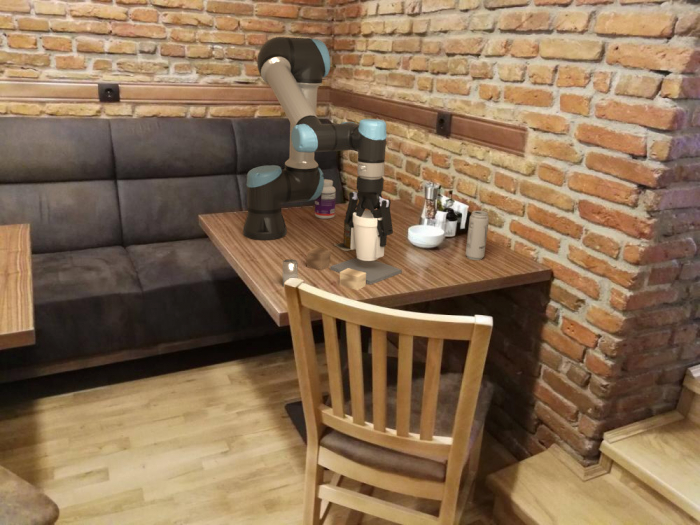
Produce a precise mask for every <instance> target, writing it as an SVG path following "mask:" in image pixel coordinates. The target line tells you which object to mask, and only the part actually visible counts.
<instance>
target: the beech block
mask: <svg viewBox="0 0 700 525" xmlns="http://www.w3.org/2000/svg"><path fill="white" fill-rule="evenodd" d="M366 284H367V283H366V273H364V272H361V271H357V270H354V269H350V268H347V269H345V270H343V271H341V272H340V273H339V285H340V286H342V287H344V288H349V289H352V290H356V291H359V290H360V289H362V288H365V287H366Z"/></svg>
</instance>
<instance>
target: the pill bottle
mask: <svg viewBox="0 0 700 525" xmlns="http://www.w3.org/2000/svg"><path fill="white" fill-rule="evenodd" d="M333 184H334V181H333V180H332V179H326V178H324V187H323V191H322V193H321V195H320V196H319V197H318V198H317V199H315V200H314V216H315V217H316V218H318V219H321V220H322V219H323V220H327V219H333V218H334V217H335V215H336V191H337V190H336V187H334V186H333Z"/></svg>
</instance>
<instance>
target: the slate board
mask: <svg viewBox="0 0 700 525" xmlns="http://www.w3.org/2000/svg"><path fill="white" fill-rule="evenodd" d="M347 268H350V269H354V270H357V271H361V272H364V273H366V284H367V285H370V286H371V285H373V284H375V283H379V282H381V281H383V280H386V279H387V280H388V279H389V278H392V277H394V276H397V275H399V274H402V272H403V269H402V268H398V267H397V266H396V267H395V266H392V265H390V264H387V263H384V262H381V261H379V260H373V261H364V260H360V259H358V258H357V257H354V258H351V259H348V260H345V261H342V262H339V263H336V264H332V265H330V266H329V269H330V271H334V272H337V273H338V274H340V272H341V271H343V270H345V269H347Z"/></svg>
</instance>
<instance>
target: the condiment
mask: <svg viewBox="0 0 700 525" xmlns="http://www.w3.org/2000/svg"><path fill="white" fill-rule="evenodd" d="M346 213H347V211H346V212H345V214H346ZM343 221H344V222H343V242H341V243H334V244H333V246H335V247H337V249H340V250H342V251H344V252H348V251H353V250H355V251H356V249H351V237H350V227H349V225H348V224H345V219H344V220H343Z"/></svg>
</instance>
